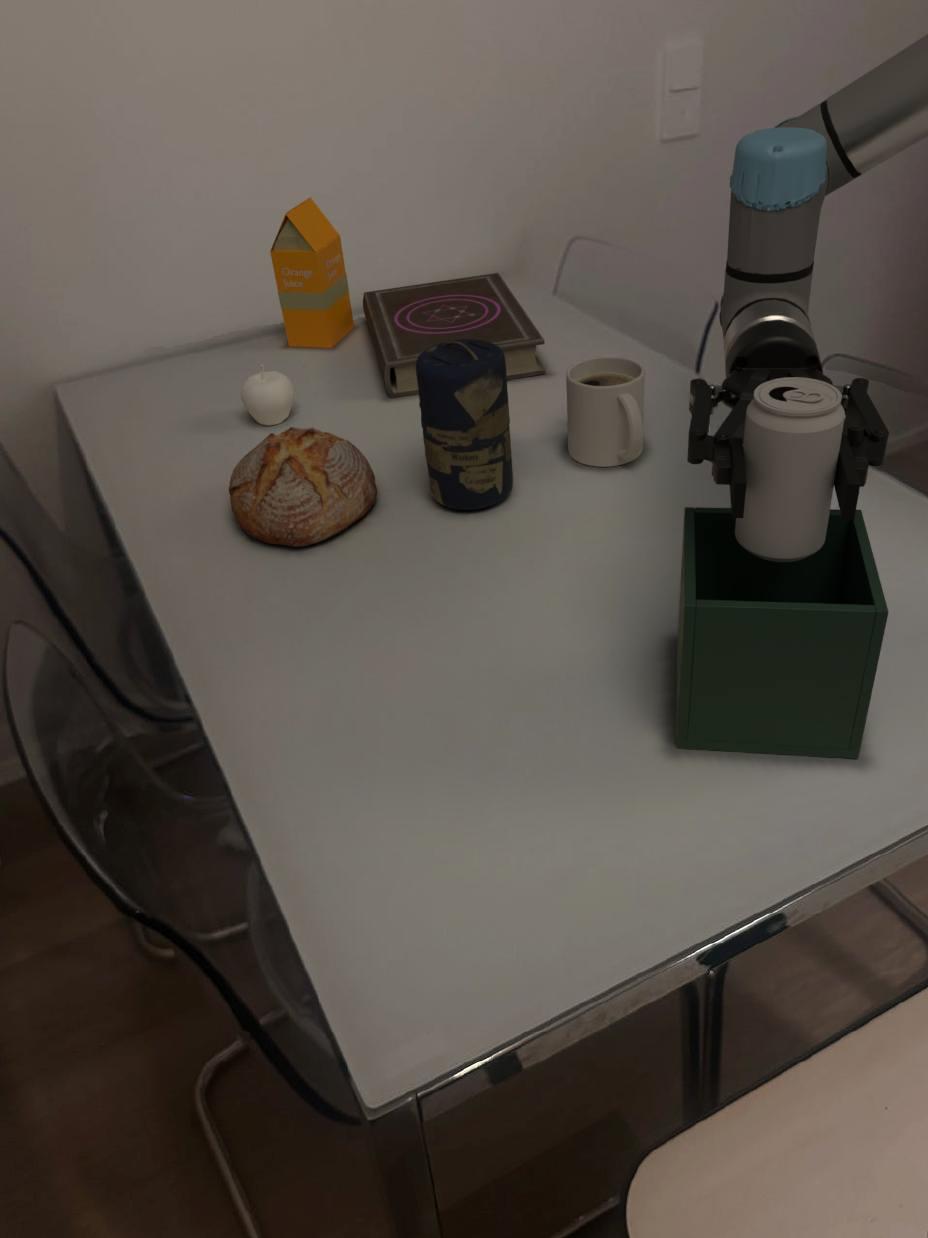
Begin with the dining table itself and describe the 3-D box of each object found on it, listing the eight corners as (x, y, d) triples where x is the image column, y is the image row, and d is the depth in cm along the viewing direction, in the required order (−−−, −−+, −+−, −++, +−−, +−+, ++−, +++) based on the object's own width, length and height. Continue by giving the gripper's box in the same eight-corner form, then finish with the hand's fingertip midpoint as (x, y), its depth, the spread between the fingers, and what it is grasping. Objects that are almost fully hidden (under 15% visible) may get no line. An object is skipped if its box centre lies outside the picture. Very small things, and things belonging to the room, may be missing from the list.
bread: (239, 573, 107) (211, 492, 101) (239, 485, 123) (215, 411, 117) (389, 539, 108) (370, 457, 102) (370, 456, 123) (353, 381, 117)
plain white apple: (250, 435, 132) (237, 378, 127) (244, 414, 137) (231, 358, 132) (302, 424, 133) (291, 367, 128) (294, 404, 138) (283, 348, 134)
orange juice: (355, 326, 161) (334, 195, 149) (333, 348, 154) (309, 212, 142) (311, 325, 163) (287, 196, 151) (287, 346, 156) (260, 213, 144)
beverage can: (754, 513, 78) (769, 367, 71) (837, 534, 75) (861, 382, 67) (720, 553, 74) (732, 402, 67) (805, 577, 71) (828, 420, 63)
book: (545, 373, 139) (544, 339, 136) (387, 398, 137) (382, 364, 134) (500, 303, 164) (498, 272, 161) (365, 323, 162) (360, 292, 159)
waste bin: (837, 648, 87) (861, 509, 79) (858, 759, 77) (888, 611, 68) (677, 642, 90) (684, 506, 81) (676, 748, 79) (684, 605, 71)
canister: (449, 525, 109) (432, 368, 99) (418, 488, 116) (399, 338, 106) (528, 501, 112) (520, 346, 101) (493, 467, 119) (482, 318, 108)
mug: (575, 431, 125) (574, 354, 119) (652, 434, 122) (655, 356, 116) (558, 473, 116) (555, 393, 110) (640, 478, 114) (642, 396, 108)
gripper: (885, 403, 85) (939, 552, 67) (652, 403, 88) (644, 545, 70) (901, 316, 80) (964, 451, 62) (655, 320, 84) (647, 449, 66)
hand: (794, 501), depth 66 cm, fingers closed on beverage can, 6 cm apart
